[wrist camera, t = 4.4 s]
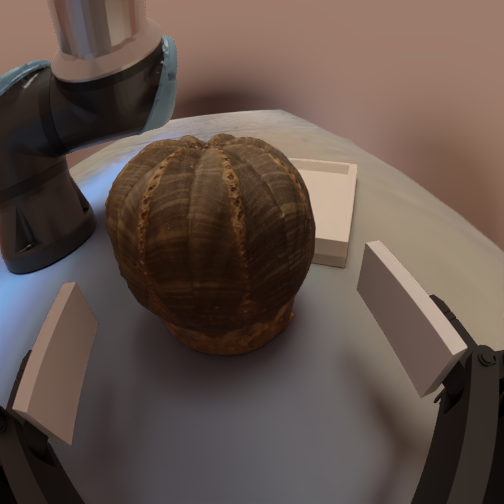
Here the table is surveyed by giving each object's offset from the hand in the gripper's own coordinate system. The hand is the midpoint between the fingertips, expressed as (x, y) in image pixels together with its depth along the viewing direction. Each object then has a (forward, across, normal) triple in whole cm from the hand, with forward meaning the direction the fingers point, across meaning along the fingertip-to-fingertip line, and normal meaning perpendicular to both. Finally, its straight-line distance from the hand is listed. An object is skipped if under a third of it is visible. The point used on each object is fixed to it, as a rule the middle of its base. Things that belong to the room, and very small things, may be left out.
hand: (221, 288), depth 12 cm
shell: (+4, 0, -6) cm, 8 cm away
